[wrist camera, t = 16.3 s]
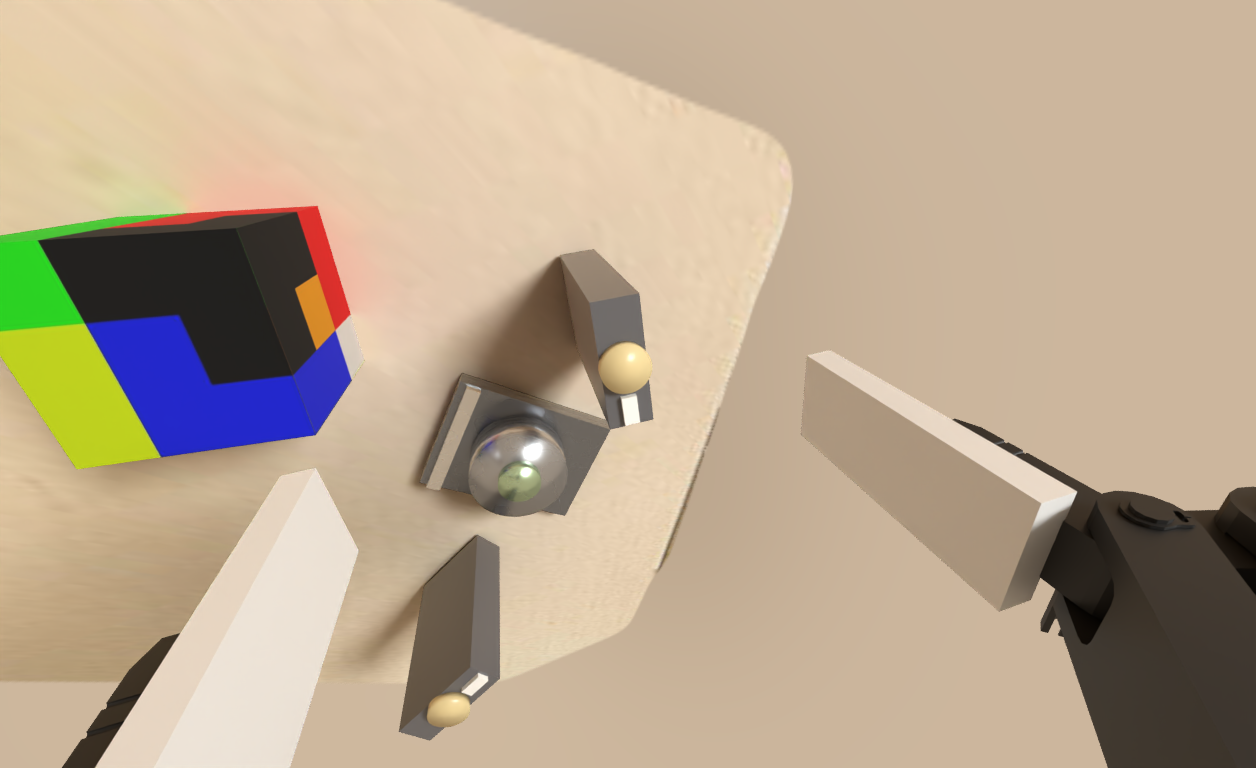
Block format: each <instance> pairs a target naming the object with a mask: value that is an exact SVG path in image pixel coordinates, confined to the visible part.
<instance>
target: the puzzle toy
mask: <svg viewBox="0 0 1256 768" xmlns="http://www.w3.org/2000/svg"><path fill="white" fill-rule="evenodd" d="M0 356H1V358H2V359H3V361H4V362H5V364H6V365H7V367H8V368H9V370H10V371H11V373H12V374H13V375H14V377H15V378H16V380H17V381H18V383H19V384H20V386H21V387H22V389H23V390H24V392H25V393H26V395H27V396H28V398H29V399H30V401H31V402H32V404H33V405H34V407H35V408H36V410H37V411H38V413H39V414H40V416H41V417H42V419H43V420H44V422H45V423H46V424H47V426H48V427H49V429H50V430H51V432H52V433H53V435H54V436H55V438H56V439H57V441H58V442H59V444H60V445H61V447H62V448H63V450H64V451H65V453H66V454H67V456H68V457H69V459H70V460H71V462H72V463H73V465H74V466H75V468H76V469H83V468H90V467H97V466H104V465H111V464H118V463H125V462H131V461H138V460H145V459H152V458H159V457H166V456H173V455H180V454H187V453H194V452H201V451H208V450H215V449H222V448H229V447H236V446H243V445H250V444H257V443H264V442H271V441H278V440H285V439H292V438H299V437H306V436H313V435H316V434H317V433H318V431H319V429H320V428H321V426H322V425H323V423H324V422H325V420H326V419H327V417H328V416H329V414H330V413H331V411H332V410H333V408H334V407H335V405H336V404H337V402H338V401H339V399H340V398H341V396H342V394H343V393H344V391H345V390H346V388H347V387H348V385H349V384H350V382H351V381H352V379H353V378H354V376H355V375H356V373H357V372H358V370H359V369H360V367H361V366H362V364H363V363H364V361H365V360H364V356H363V353H362V350H361V347H360V343H359V340H358V337H357V334H356V330H355V327H354V324H353V321H352V317H351V314H350V311H349V307H348V304H347V301H346V298H345V294H344V291H343V288H342V285H341V281H340V278H339V275H338V272H337V268H336V265H335V262H334V259H333V255H332V252H331V249H330V245H329V242H328V239H327V236H326V232H325V229H324V226H323V223H322V219H321V216H320V213H319V210H318V206H311V207H293V208H274V209H256V210H238V211H220V212H202V213H184V214H166V215H148V216H129V217H115V218H109V219H103V220H96V221H90V222H84V223H77V224H71V225H65V226H58V227H52V228H46V229H39V230H33V231H27V232H20V233H14V234H8V235H1V236H0Z"/></svg>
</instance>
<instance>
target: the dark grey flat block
mask: <svg viewBox="0 0 1256 768" xmlns="http://www.w3.org/2000/svg"><path fill="white" fill-rule="evenodd" d="M499 679H500V591H499V546H497V545H495V544H493V543H491V542H489V541H488V540H486V539H484V538H482V537H480V536H478V535H477V536H476V537H475V538H474V539H473V540H472V541H471V542H470V543H469V544H467V545H466V546H465V547H464V548H463V549H462V550H461V551H460V552H459V553H458V554H457V555H456V556H455V557H454V558H453V559H452V560H451V561H450V562H449V563H448V564H447V565H446V566H445V567H443V568H442V569H441V570H440V571H439V572H438V573H437V574H436V575H435V576H434V577H433V578H432V579H431V580H430V581H429V582H428V583H427V584H426V585H425V586H424V589H423V595H422V600H421V606H420V612H419V618H418V624H417V629H416V635H415V641H414V647H413V653H412V658H411V664H410V670H409V676H408V682H407V687H406V694H405V699H404V705H403V711H402V717H401V723H400V729H399V732H401V733H405V734H409V735H412V736H416V737H419V738H423V739H426V740H431V739H432V738H433V737H435V735H437V734H438V733H439V732H440V731H441V730H442V729H444V728H445V727H451V726H454V725H457V724H459V723H461V722H462V721H464V720H465V719H466V718H467V717H468V715H469V713H470V705H471V704H472V703H473V702H474V701H475V700H476V699H477V698H478V697H479V696H481V695H482V694H483V693H484V692H485V691H486V690H487V689H489V688H490V687H491V686H492V685H493V684H494V683H495V682H496V681H498V680H499Z"/></svg>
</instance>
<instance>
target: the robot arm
mask: <svg viewBox="0 0 1256 768" xmlns="http://www.w3.org/2000/svg"><path fill="white" fill-rule="evenodd" d="M801 435H802V436H803V437H804V438H805V439H806V440H808V441H809V442H810V443H811V444H812V445H813V446H814V447H815V448H816V449H818V450H819V451H820V452H821V453H822V454H823V455H824V456H825V457H827V458H828V459H829V460H830V461H831V462H832V463H833V464H834V465H835V466H837V467H838V468H839V469H840V470H841V471H842V472H843V473H844V474H846V475H847V476H848V477H849V478H850V479H851V480H852V481H853V482H855V483H856V484H857V485H858V486H859V487H860V488H862V490H863V491H865V492H866V493H867V494H868V495H869V496H870V497H871V498H873V499H874V500H875V501H876V502H877V503H878V504H879V505H880V506H881V507H883V508H884V509H885V510H886V511H887V512H888V513H889V514H890V515H891V516H893V517H894V518H895V519H896V520H897V521H898V522H899V523H900V524H902V525H903V526H904V527H905V528H906V529H907V530H908V531H910V532H911V533H912V534H913V535H914V536H915V537H916V538H917V539H918V540H919V541H921V542H922V543H923V544H924V545H925V546H926V547H927V548H928V549H929V550H931V551H932V552H933V553H934V554H935V555H936V556H937V557H938V558H940V559H941V560H942V561H943V562H944V563H945V564H946V565H947V566H949V567H950V568H951V569H952V570H953V571H954V572H955V573H956V574H957V575H959V576H960V577H961V578H962V579H963V580H964V581H965V582H967V584H969V585H970V586H971V587H972V588H973V589H974V590H975V591H977V592H978V593H979V594H980V595H981V596H982V597H983V598H984V599H985V600H987V601H988V602H989V603H990V604H991V605H992V606H993V607H994V608H996V609H997V610H998V611H1002V610H1005V609H1007V608H1010V607H1013V606H1016V605H1018V604H1021V603H1024V602H1026V601H1029V600H1031V598H1032V596H1033V593H1034V591H1035V589H1036V586H1037V584H1038V582H1039V579H1040V578H1042V579H1043V580H1044V581H1046V582H1047V583H1048V584H1050V585H1051V586H1052V587H1054V588H1055V591H1054V594H1053V596H1052V598H1051V600H1050V602H1049V604H1048V607H1047V609H1046V611H1045V613H1044V615H1043V618H1042V620H1041V631H1043V632H1047V633H1048V632H1049V630H1050V628H1051V625H1052V623H1053V621H1054V619H1058V622H1059V625H1060V628H1061V629H1060V631H1059V633H1058V635H1059V636H1062V637H1064V640H1065V643H1066V646H1067V649H1068V652H1069V655H1070V658H1071V660H1072V663H1073V666H1074V669H1075V672H1076V675H1077V678H1078V681H1079V684H1080V687H1081V690H1082V693H1083V696H1084V699H1085V702H1086V705H1087V708H1088V711H1089V713H1090V716H1091V719H1092V722H1093V725H1094V728H1095V731H1096V734H1097V737H1098V740H1099V743H1100V746H1101V749H1102V752H1103V755H1104V757H1105V760H1106V763H1107V766H1108V768H1256V487H1244V488H1237V489H1235V490H1233V491H1232V492H1230V493H1229V495H1228V496H1227V498H1226V499H1225V501H1224V503H1223V504H1222V506H1221V507H1220V509H1219V510H1205V511H1204V510H1202V511H1184V510H1182V509H1180V508H1178V507H1176V506H1175V505H1173V504H1171V503H1168V502H1165V501H1163V500H1160V499H1158V498H1155V497H1152V496H1148V495H1143V494H1139V493H1135V492H1126V491H1113V492H1108V493H1103V494H1101V493H1099V492H1097V491H1095V490H1093V489H1091V488H1090V487H1088V486H1086V485H1084V484H1082V483H1081V482H1079V481H1077V480H1075V479H1074V478H1072V477H1070V476H1068V475H1066V474H1065V473H1063V472H1061V471H1059V470H1057V469H1056V468H1054V467H1052V466H1050V465H1048V464H1046V463H1045V462H1043V461H1041V460H1039V459H1037V458H1036V457H1034V456H1032V455H1030V454H1028V453H1026V454H1024V453H1023V450H1021V449H1019V448H1017V447H1016V446H1014V445H1012V444H1010V443H1005V442H1004V440H1003V439H1001V438H1000V437H997V436H996V435H994V434H992V433H991V432H988V431H987V430H985V429H983V428H981V427H978V426H975V425H972V424H969V423H966V422H963V421H960V420H957V419H953V420H951V419H950V418H948V417H946V416H944V415H943V414H941V413H939V412H937V411H935V410H934V409H932V408H930V407H929V406H927V405H925V404H923V403H922V402H920V401H918V400H916V399H915V398H913V397H911V396H909V395H908V394H906V393H904V392H903V391H901V390H899V389H897V388H895V387H894V386H892V385H890V384H888V383H887V382H885V381H883V380H882V379H880V378H878V377H876V376H875V375H873V374H871V373H869V372H868V371H866V370H864V369H862V368H861V367H859V366H857V365H855V364H854V363H852V362H850V361H848V360H846V359H845V358H843V357H841V356H840V355H838V354H836V353H834V352H832V351H831V350H828V351H824V352H820V353H815V354H811V355H807V361H806V373H805V387H804V400H803V413H802V427H801ZM358 552H359V550H358V548H357V546H356V544H355V542H354V540H353V539H352V537H351V535H350V533H349V531H348V529H347V527H346V525H345V523H344V521H343V519H342V517H341V515H340V514H339V512H338V510H337V508H336V506H335V504H334V502H333V500H332V498H331V496H330V494H329V492H328V490H327V489H326V487H325V485H324V483H323V481H322V479H321V477H320V475H319V473H318V471H317V469H316V468H312V469H308V470H304V471H299V472H295V473H291V474H286V475H282V476H280V477H279V479H278V480H277V482H276V484H275V485H274V487H273V488H272V490H271V491H270V493H269V495H268V496H267V498H266V499H265V501H264V502H263V504H262V506H261V507H260V509H259V510H258V512H257V513H256V515H255V517H254V518H253V520H252V521H251V523H250V524H249V526H248V528H247V529H246V531H245V532H244V534H243V535H242V537H241V539H240V540H239V542H238V543H237V545H236V546H235V548H234V550H233V551H232V553H231V554H230V556H229V558H228V559H227V561H226V562H225V564H224V565H223V567H222V569H221V570H220V572H219V573H218V575H217V576H216V578H215V580H214V581H213V583H212V584H211V586H210V587H209V589H208V591H207V592H206V594H205V595H204V597H203V598H202V600H201V602H200V603H199V605H198V606H197V608H196V609H195V611H194V613H193V614H192V616H191V617H190V619H189V620H188V622H187V624H186V625H185V627H184V628H183V630H182V631H181V633H179V634H176V635H172V636H168V637H165V638H162V639H161V640H160V641H159V642H158V643H157V644H156V645H155V646H154V647H152V648H151V649H150V650H149V651H148V652H147V653H146V654H145V655H144V656H143V657H142V658H141V659H140V660H139V661H138V662H137V663H136V664H135V665H134V666H133V667H132V668H131V669H130V670H129V671H128V673H127V674H126V675H125V677H124V678H123V680H122V681H121V683H120V684H119V686H118V687H117V689H116V690H115V691H114V693H113V694H112V696H111V697H110V699H109V700H108V702H107V708H106V709H104V710H101V712H100V713H99V715H98V716H97V718H96V719H95V720H94V722H93V723H92V725H91V726H90V728H89V729H88V731H87V737H86V738H85V739H82V740H81V741H80V742H79V744H78V745H77V747H76V748H75V749H74V751H73V752H72V754H71V755H70V757H69V758H68V760H67V761H66V763H65V764H64V765H63V767H62V768H290V765H291V762H292V759H293V756H294V753H295V750H296V746H297V743H298V740H299V737H300V734H301V731H302V728H303V725H304V721H305V718H306V715H307V712H308V709H309V706H310V703H311V699H312V696H313V693H314V690H315V687H316V684H317V681H318V678H319V674H320V671H321V668H322V665H323V662H324V659H325V656H326V652H327V649H328V646H329V643H330V640H331V637H332V634H333V630H334V627H335V624H336V621H337V618H338V615H339V612H340V608H341V605H342V602H343V599H344V596H345V593H346V590H347V586H348V583H349V580H350V577H351V574H352V571H353V568H354V565H355V561H356V558H357V555H358Z"/></svg>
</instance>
